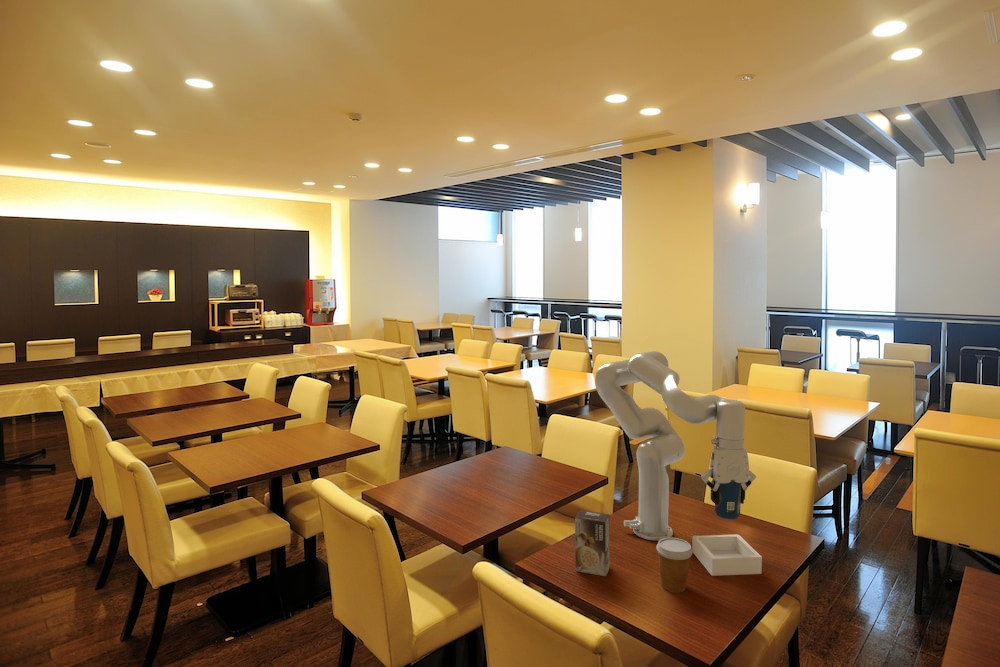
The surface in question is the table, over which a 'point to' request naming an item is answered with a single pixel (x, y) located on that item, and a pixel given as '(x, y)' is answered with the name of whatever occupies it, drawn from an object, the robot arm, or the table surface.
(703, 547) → the walled box
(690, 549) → the disposable coffee cup
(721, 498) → the soda can
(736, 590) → the table surface
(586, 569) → the coffee box
